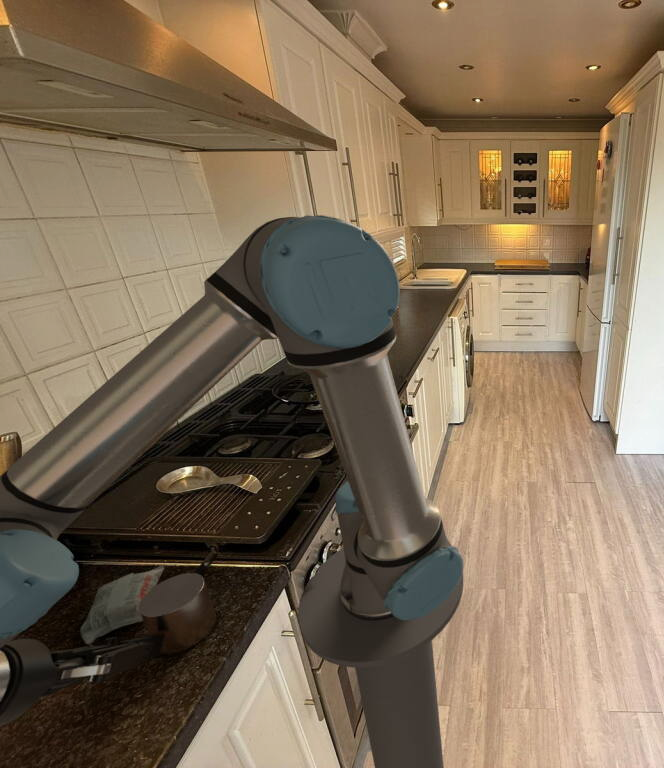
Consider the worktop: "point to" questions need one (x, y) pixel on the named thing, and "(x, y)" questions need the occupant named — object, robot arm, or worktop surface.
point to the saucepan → (180, 609)
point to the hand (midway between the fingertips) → (156, 644)
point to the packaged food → (118, 604)
